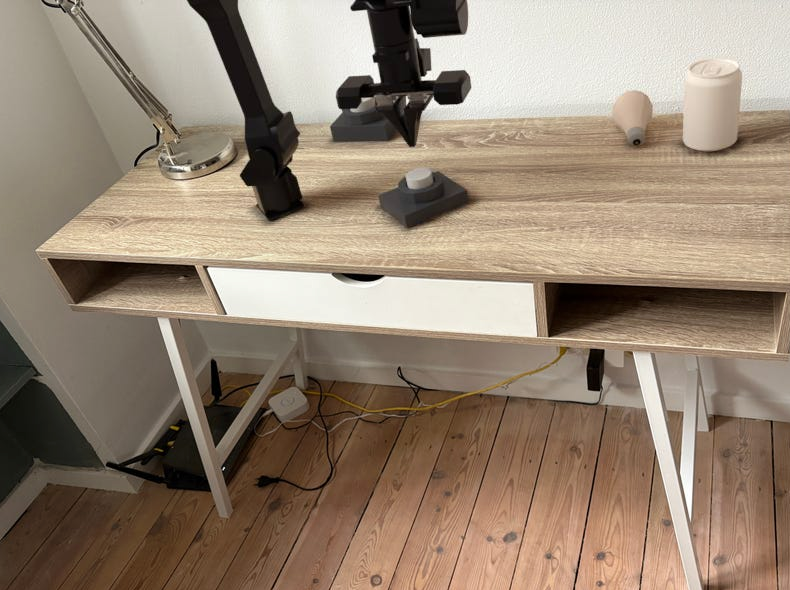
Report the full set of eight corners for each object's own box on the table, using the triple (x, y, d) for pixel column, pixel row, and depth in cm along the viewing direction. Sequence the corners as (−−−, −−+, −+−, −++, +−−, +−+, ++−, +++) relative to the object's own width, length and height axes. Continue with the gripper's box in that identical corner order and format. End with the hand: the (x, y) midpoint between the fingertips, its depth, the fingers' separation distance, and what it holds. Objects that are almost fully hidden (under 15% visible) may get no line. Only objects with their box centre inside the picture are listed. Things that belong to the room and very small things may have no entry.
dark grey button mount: (402, 121, 154) (397, 96, 151) (388, 140, 149) (382, 114, 146) (349, 123, 158) (343, 97, 155) (333, 141, 152) (327, 116, 149)
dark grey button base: (407, 228, 123) (402, 205, 120) (380, 207, 129) (375, 184, 127) (469, 202, 126) (465, 178, 124) (440, 183, 133) (436, 160, 130)
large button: (379, 102, 151) (377, 91, 150) (370, 113, 148) (368, 102, 147) (355, 103, 153) (353, 92, 152) (346, 114, 150) (343, 103, 148)
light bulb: (654, 121, 127) (647, 76, 133) (611, 133, 129) (606, 88, 135) (661, 152, 132) (654, 108, 138) (620, 163, 134) (614, 118, 140)
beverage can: (743, 134, 129) (750, 58, 122) (727, 157, 124) (733, 79, 117) (692, 129, 133) (696, 55, 126) (675, 151, 128) (677, 75, 121)
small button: (415, 193, 123) (413, 182, 122) (403, 184, 126) (401, 174, 125) (438, 183, 125) (436, 173, 123) (425, 175, 127) (423, 165, 126)
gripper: (473, 14, 115) (486, 120, 124) (350, 24, 120) (372, 124, 130) (453, 43, 107) (468, 154, 116) (323, 51, 112) (348, 156, 122)
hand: (413, 145), depth 122 cm, fingers closed
